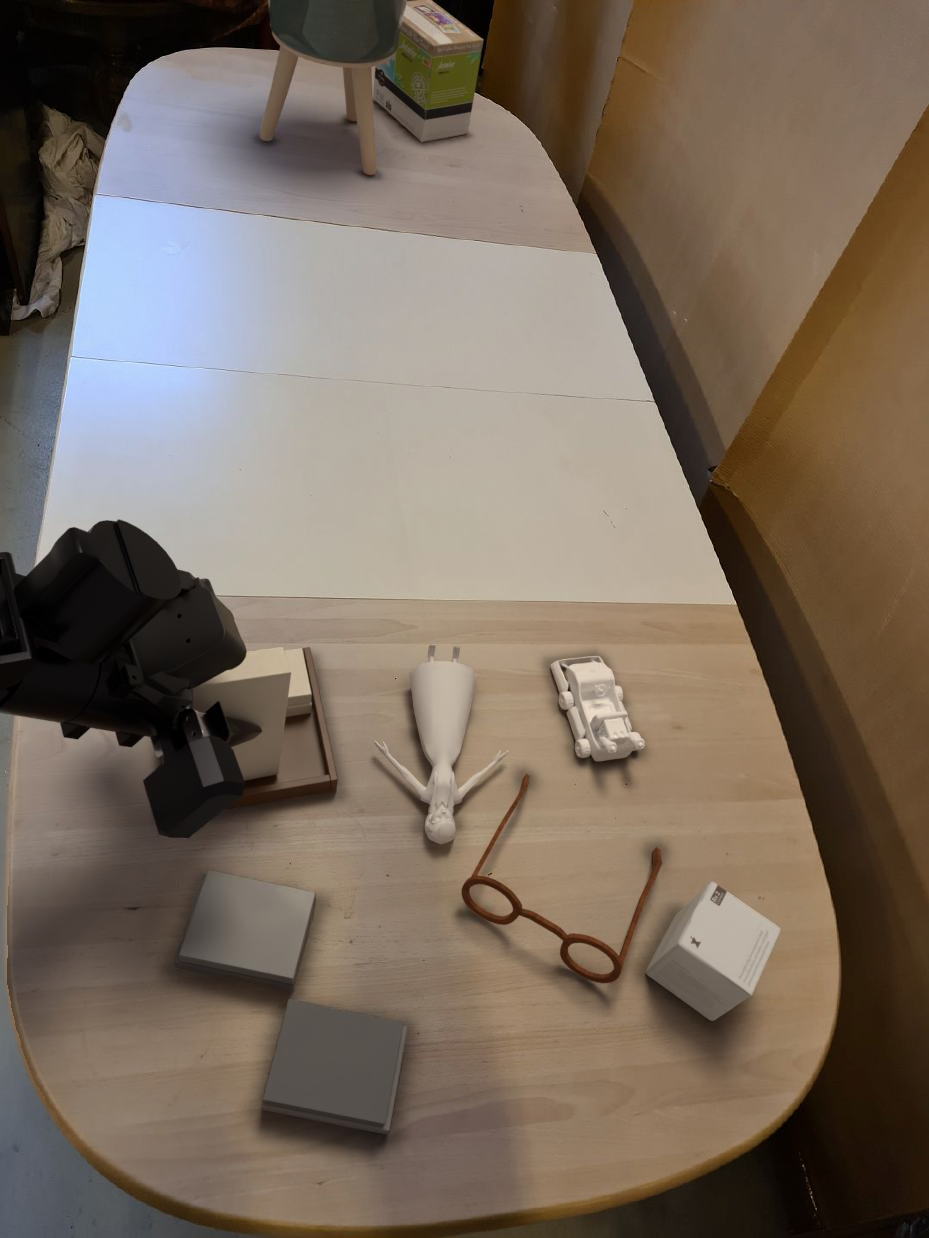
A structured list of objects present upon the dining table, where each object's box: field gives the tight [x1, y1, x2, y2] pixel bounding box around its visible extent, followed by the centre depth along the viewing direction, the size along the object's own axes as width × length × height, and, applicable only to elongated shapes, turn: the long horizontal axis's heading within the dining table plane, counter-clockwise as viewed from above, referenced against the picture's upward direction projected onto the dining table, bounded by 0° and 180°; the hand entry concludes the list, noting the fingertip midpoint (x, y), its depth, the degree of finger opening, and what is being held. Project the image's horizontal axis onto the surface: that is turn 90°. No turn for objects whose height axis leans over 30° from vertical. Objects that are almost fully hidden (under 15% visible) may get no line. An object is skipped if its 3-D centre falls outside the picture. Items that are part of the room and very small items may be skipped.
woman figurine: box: [373, 643, 509, 845], centre depth 75 cm, size 12×4×18 cm
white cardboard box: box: [645, 881, 782, 1022], centre depth 66 cm, size 6×6×7 cm
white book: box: [187, 646, 291, 781], centre depth 66 cm, size 7×2×13 cm, turn 110°
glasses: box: [460, 773, 663, 984], centre depth 70 cm, size 13×13×5 cm
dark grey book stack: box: [261, 998, 409, 1135], centre depth 59 cm, size 8×6×3 cm
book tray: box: [161, 646, 339, 811], centre depth 74 cm, size 13×13×2 cm
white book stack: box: [284, 647, 312, 717], centre depth 75 cm, size 8×5×3 cm, turn 106°
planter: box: [259, 0, 408, 176], centre depth 124 cm, size 22×22×33 cm
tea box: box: [372, 0, 484, 143], centre depth 142 cm, size 15×10×15 cm
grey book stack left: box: [173, 869, 317, 993], centre depth 64 cm, size 8×6×3 cm
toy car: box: [550, 655, 646, 763], centre depth 80 cm, size 6×12×4 cm, turn 14°
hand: (250, 715), depth 67 cm, fingers closed on white book, 3 cm apart
